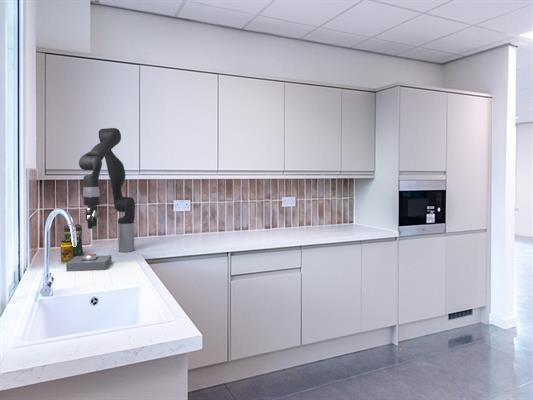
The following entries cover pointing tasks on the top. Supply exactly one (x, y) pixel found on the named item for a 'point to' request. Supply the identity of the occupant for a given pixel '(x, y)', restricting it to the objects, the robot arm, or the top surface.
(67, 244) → the condiment
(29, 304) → the top surface
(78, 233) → the green bottle
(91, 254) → the button
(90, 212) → the robot arm
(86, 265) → the box
